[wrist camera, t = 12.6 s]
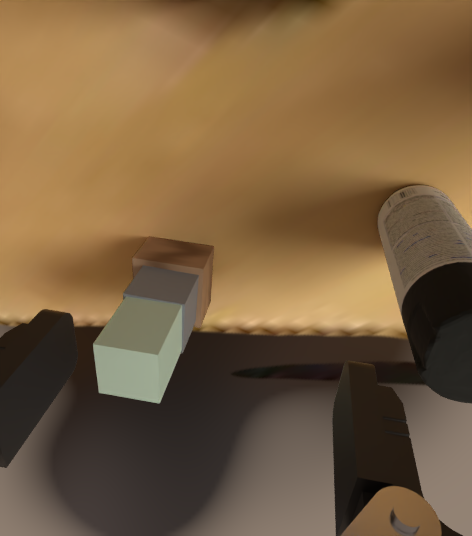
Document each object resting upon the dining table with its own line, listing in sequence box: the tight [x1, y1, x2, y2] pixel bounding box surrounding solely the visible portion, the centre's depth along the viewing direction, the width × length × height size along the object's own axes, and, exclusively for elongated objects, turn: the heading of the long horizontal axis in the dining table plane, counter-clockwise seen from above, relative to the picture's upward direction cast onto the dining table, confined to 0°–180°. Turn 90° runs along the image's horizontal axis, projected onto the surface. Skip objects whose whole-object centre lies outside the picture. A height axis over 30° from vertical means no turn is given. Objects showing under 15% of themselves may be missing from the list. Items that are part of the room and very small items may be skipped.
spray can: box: [378, 185, 472, 403], centre depth 32 cm, size 7×7×20 cm
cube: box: [123, 265, 199, 353], centre depth 41 cm, size 6×6×5 cm
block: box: [93, 296, 182, 403], centre depth 36 cm, size 5×5×6 cm
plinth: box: [132, 236, 214, 328], centre depth 46 cm, size 7×7×5 cm
